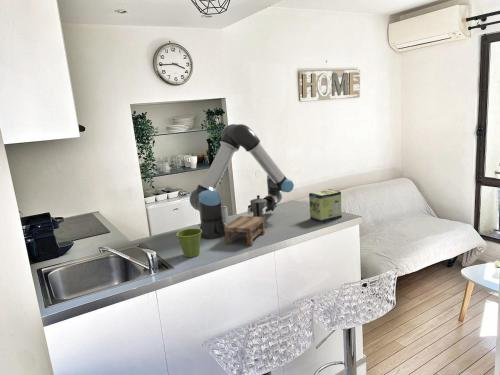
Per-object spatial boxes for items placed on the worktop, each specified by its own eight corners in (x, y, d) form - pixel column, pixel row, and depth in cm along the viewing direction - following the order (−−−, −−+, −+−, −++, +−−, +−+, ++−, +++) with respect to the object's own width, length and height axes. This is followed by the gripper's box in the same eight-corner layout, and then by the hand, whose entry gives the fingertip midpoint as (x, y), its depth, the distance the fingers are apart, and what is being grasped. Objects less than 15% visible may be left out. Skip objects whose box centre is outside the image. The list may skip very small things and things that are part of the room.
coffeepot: (252, 223, 222) (250, 192, 218) (268, 222, 221) (267, 192, 217) (250, 231, 207) (248, 199, 203) (267, 231, 206) (265, 198, 202)
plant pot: (180, 251, 184) (177, 229, 182) (204, 249, 185) (202, 227, 182) (177, 261, 172) (174, 237, 170) (203, 258, 173) (201, 234, 171)
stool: (225, 244, 189) (223, 227, 187) (241, 232, 207) (239, 216, 205) (251, 246, 184) (250, 228, 182) (265, 233, 202) (264, 216, 200)
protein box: (309, 219, 222) (308, 193, 219) (330, 214, 229) (329, 188, 226) (321, 222, 213) (319, 195, 210) (342, 217, 220) (341, 191, 217)
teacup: (220, 224, 225) (219, 211, 223) (207, 222, 232) (205, 209, 230) (235, 218, 236) (234, 205, 234) (222, 216, 242) (221, 204, 241)
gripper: (286, 208, 225) (273, 219, 205) (253, 207, 233) (238, 217, 212) (285, 196, 224) (273, 205, 203) (252, 195, 232) (237, 204, 211)
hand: (255, 211), depth 208 cm, fingers closed on coffeepot, 8 cm apart
